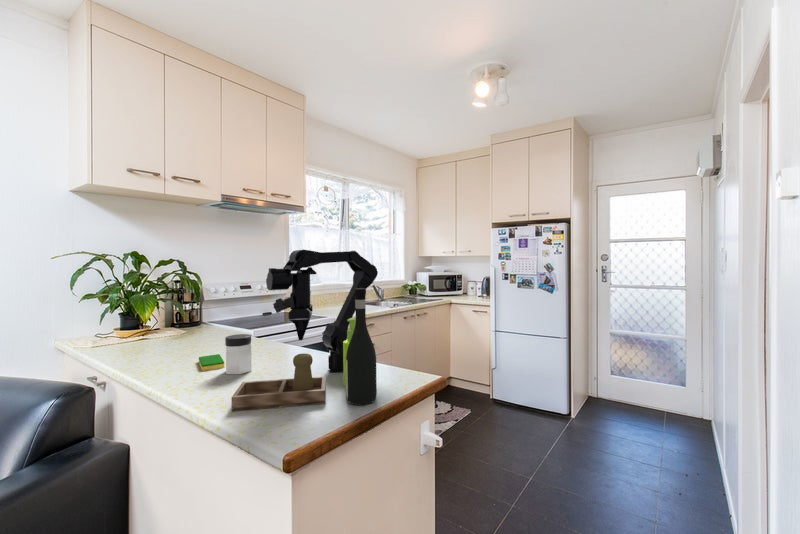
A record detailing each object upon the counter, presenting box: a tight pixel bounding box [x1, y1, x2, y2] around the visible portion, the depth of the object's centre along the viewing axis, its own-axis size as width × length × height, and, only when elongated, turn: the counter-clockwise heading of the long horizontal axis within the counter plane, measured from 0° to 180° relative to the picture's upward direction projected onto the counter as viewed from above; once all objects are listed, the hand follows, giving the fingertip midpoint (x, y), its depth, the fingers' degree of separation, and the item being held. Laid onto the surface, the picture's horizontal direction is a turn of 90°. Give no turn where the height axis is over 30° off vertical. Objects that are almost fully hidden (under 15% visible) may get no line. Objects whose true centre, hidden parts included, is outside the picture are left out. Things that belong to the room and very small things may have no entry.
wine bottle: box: [345, 288, 378, 406], centre depth 98 cm, size 8×8×30 cm
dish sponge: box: [198, 353, 225, 371], centre depth 134 cm, size 7×14×2 cm, turn 33°
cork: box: [292, 353, 314, 391], centre depth 101 cm, size 6×6×11 cm
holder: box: [231, 375, 327, 412], centre depth 100 cm, size 23×12×4 cm, turn 101°
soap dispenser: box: [342, 317, 356, 387], centre depth 111 cm, size 6×7×20 cm
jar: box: [224, 333, 253, 375], centre depth 126 cm, size 9×8×12 cm
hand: (301, 337), depth 118 cm, fingers open, 9 cm apart
